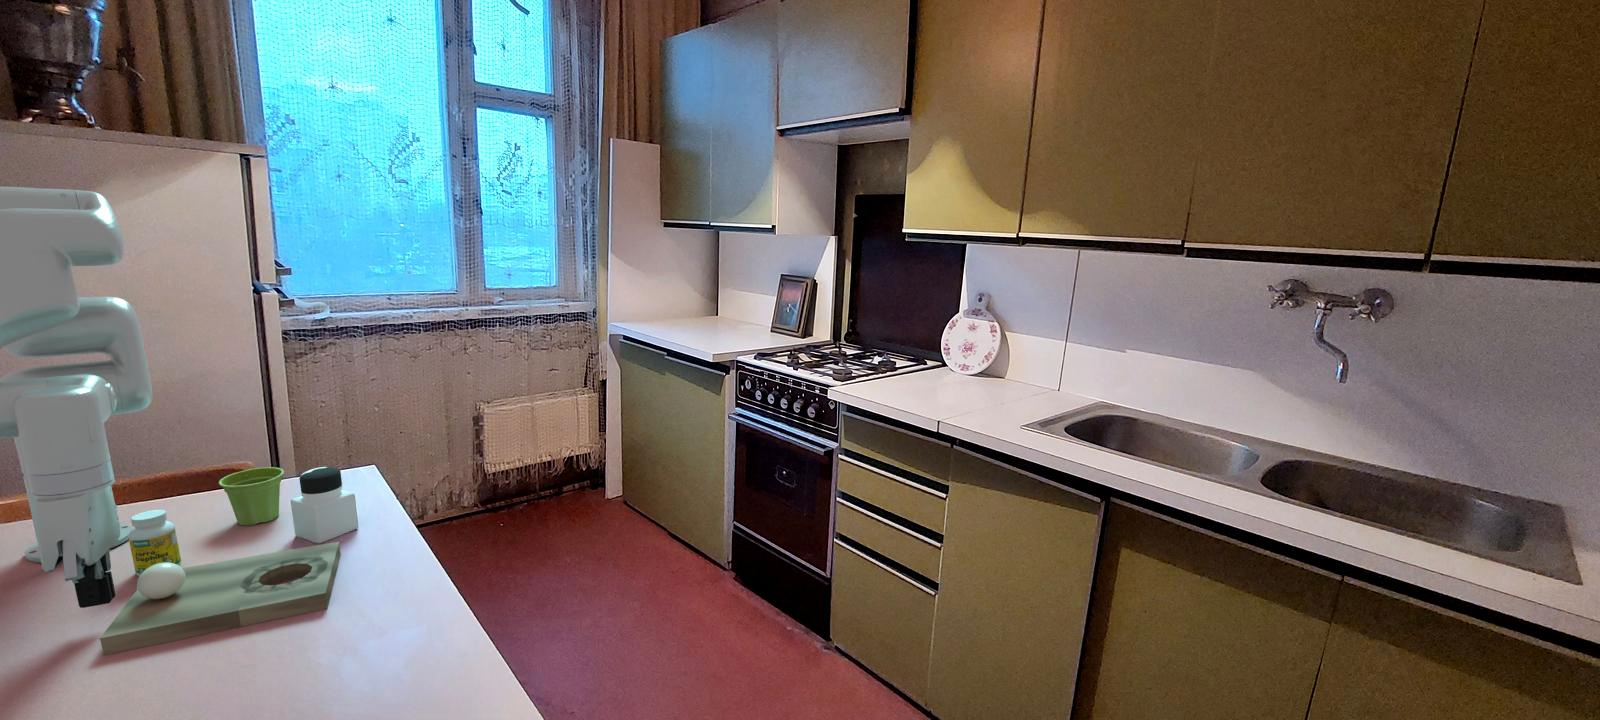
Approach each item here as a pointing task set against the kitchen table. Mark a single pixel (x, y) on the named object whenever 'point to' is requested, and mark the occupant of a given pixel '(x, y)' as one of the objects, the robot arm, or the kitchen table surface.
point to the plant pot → (254, 494)
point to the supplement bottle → (153, 540)
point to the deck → (228, 597)
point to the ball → (161, 580)
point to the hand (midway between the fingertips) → (98, 602)
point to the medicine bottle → (323, 506)
